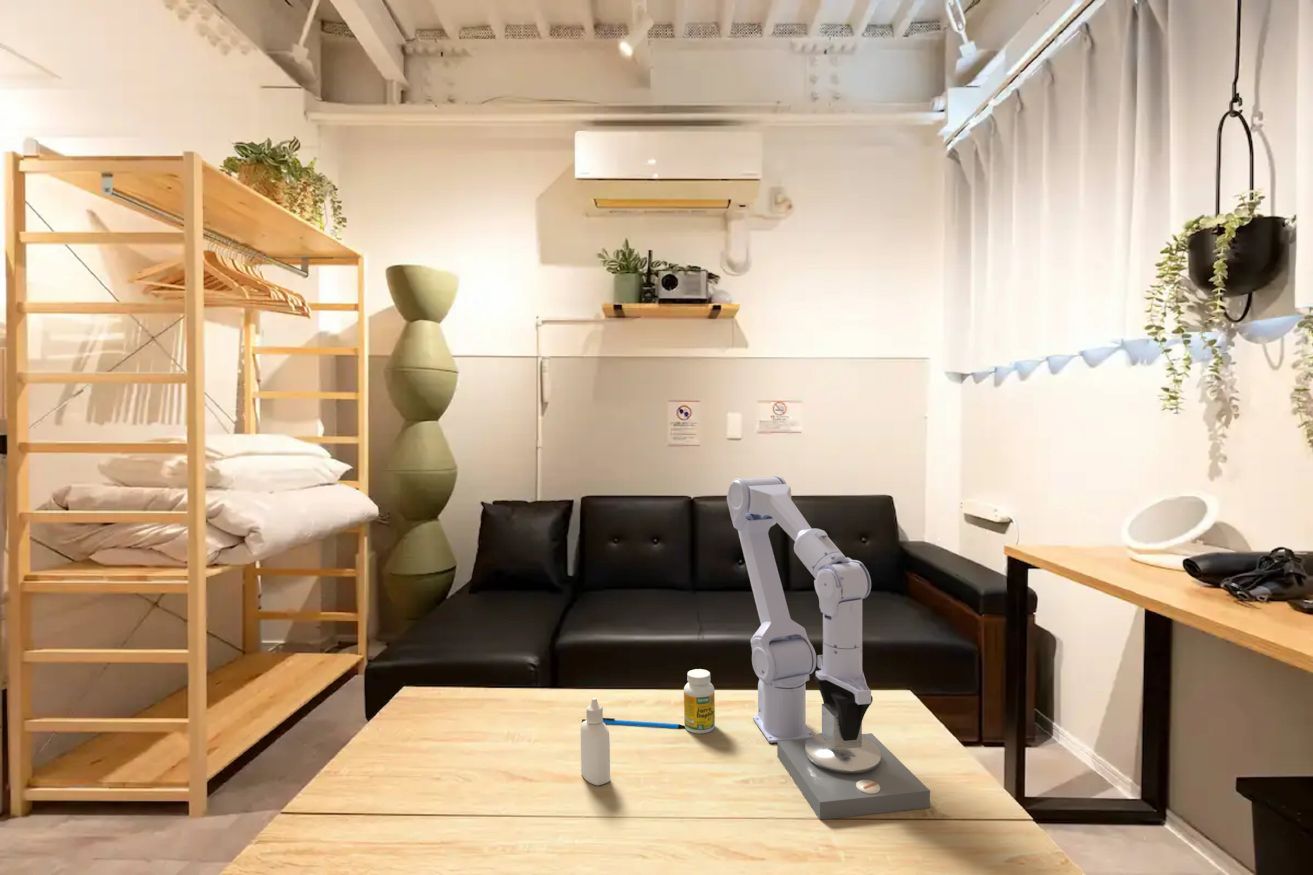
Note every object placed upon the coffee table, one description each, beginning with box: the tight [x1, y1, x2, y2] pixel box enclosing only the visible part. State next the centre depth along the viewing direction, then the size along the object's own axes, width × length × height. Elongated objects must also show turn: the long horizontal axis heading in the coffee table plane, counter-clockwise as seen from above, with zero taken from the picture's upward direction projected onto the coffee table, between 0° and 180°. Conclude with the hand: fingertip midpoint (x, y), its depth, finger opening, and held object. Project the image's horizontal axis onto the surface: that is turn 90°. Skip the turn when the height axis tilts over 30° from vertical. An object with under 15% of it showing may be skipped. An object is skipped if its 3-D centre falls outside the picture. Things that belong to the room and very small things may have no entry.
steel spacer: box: [821, 703, 863, 750], centre depth 102 cm, size 4×4×5 cm
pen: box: [581, 717, 686, 730], centre depth 119 cm, size 1×19×1 cm, turn 81°
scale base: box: [776, 732, 931, 821], centre depth 100 cm, size 17×16×3 cm
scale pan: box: [805, 732, 881, 773], centre depth 102 cm, size 11×11×1 cm
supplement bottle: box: [683, 668, 716, 735], centre depth 117 cm, size 5×5×10 cm
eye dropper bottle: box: [580, 697, 611, 786], centre depth 101 cm, size 4×6×12 cm
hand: (842, 731), depth 102 cm, fingers closed on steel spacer, 4 cm apart
